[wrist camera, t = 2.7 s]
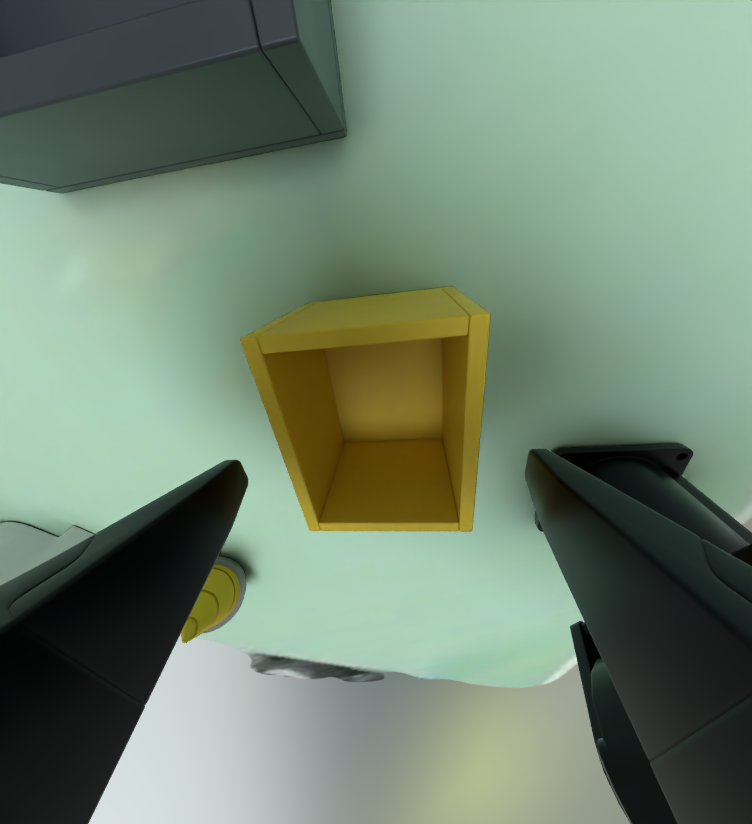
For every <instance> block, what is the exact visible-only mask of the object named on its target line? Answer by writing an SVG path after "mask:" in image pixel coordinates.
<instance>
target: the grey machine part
mask: <svg viewBox="0 0 752 824" xmlns="http://www.w3.org/2000/svg"><path fill="white" fill-rule="evenodd" d="M92 535H94V534H92V533H90V532H87V531H85V530H83V529H80V528H78V527H75V526H72V527H71V528H69V529H68V530H67V531H66V532H65V533H63V534H62V535H61V536H60V537H56V536H53V535H51V534H48V533H46V532H43V531H41V530H38V529H36V528H33V527H31V526H28V525H24V524H21V523H16V522H3V523H0V585H2V584H4V583H6V582H8V581H10V580H12V579H14V578H16V577H17V576H19V575H21V574H23V573H25V572H27V571H29V570H31V569H32V568H34V567H36V566H38V565H40V564H42V563H44V562H46V561H48V560H49V559H51V558H53V557H55V556H57V555H58V554H60V553H62V552H64V551H66V550H67V549H69V548H71V547H73V546H75V545H76V544H78V543H80V542H82V541H84V540H85V539H87V538H89V537H91V536H92Z"/></svg>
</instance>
